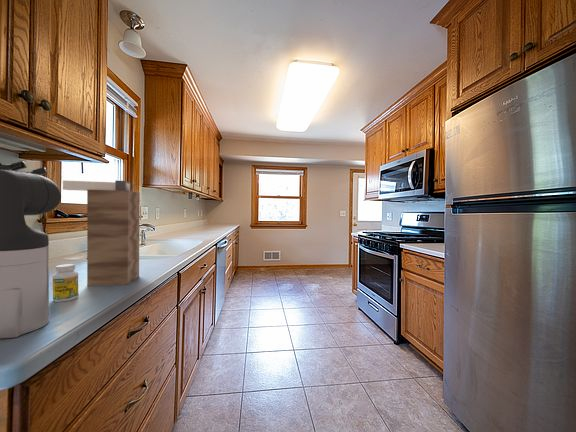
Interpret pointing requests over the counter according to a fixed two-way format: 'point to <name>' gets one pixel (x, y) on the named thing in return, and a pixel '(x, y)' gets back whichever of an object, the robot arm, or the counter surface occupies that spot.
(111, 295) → the counter surface
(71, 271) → the supplement bottle
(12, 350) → the counter surface
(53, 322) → the counter surface
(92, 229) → the walnut stand
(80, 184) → the white bar
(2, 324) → the robot arm
